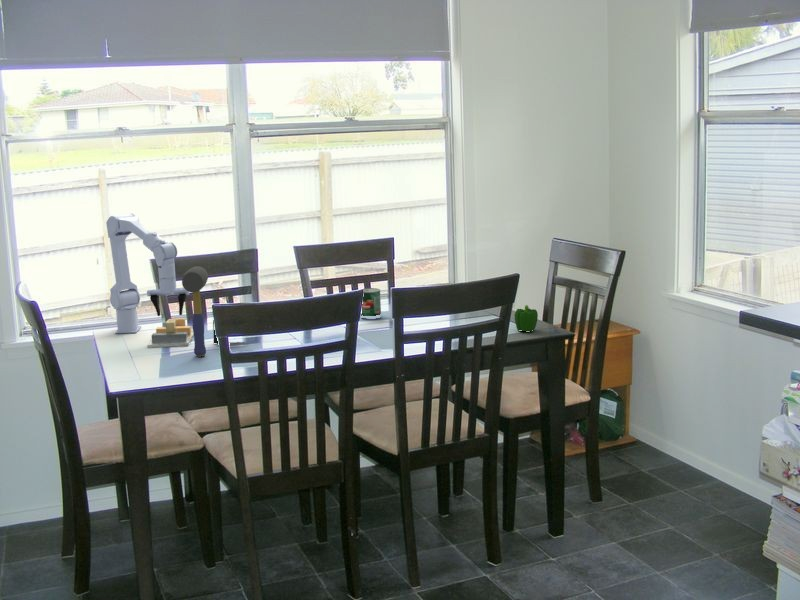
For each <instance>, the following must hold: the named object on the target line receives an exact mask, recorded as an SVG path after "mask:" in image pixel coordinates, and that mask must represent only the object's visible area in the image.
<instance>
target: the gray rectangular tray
mask: <svg viewBox="0 0 800 600" xmlns="http://www.w3.org/2000/svg"><path fill="white" fill-rule="evenodd" d="M193 339H194V333H193V327H191V334H187V332H175V333H156V332H154V333H152V334H151V339H150V341H148V343H147V348H148V349H149V348H150V349H151V348H168V347H169V348H170V346H174V347H188V345H190V344H189V343H191V342H190V341H192V340H193Z"/></svg>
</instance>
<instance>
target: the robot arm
mask: <svg viewBox="0 0 800 600" xmlns="http://www.w3.org/2000/svg"><path fill="white" fill-rule="evenodd" d="M105 225H106V230H107V237H108V238H109V243H110V249H111V250H110V251H111V257H112V264H113V271H114V278H115V284H114V285H113V286H111V288H110V290H109V291H110V296H109V303H110V304H111V307H112V308H113V309H114V310H115V313H116V325H117V326H116V327H117V330H115V331H114V334H134V333H135V334H136V333H137V332H138V331H140V329H141V328H142V326H141V325H139V317H138V310H137V307H138V305H139V304H140V301H141V295H140V292H139V290H138V285H137V284H135V283H133V282H132V281H131V274H130V266H129V259H128V254H127V246H126V239H127V238H128V237H129V236H130V235H131V234H133V235H135V236H136V237H138V238H140V239H141V240H142V244H143V245H144V246H145V247H146V248H147V249H149V250H150V251H151V252H152V254H153V258H154V259H155V264H156V266H157V270H158V284H159V288H158V289H157V288H156V289H147V290H146V295H147V297H149V298H150V299H149V300H150V301H151V303H152V305H153V306H154V309H155V311H156V315H157V317H160V316H161V308H160V306H161V305H160V296H177V295H178V296H177V300H178V306H179V307H178V311H179V312H178V313H179V316H182V315H183V309H184V305H185V301H186V298H187V296H188V295H190V293H191V292H189V291H187V290H185V289H184V287H183V288H181V287H180V288H179V287H177V280H176V279H177V277H176V267H175V266H176V265H175V259H176V258H177V256H178V248H177V246H176V245H175V244H174V242H168V241H166V240H164V239H163V238H162V237H161V236H159V235H158V233H157V232H149V230H147V229H146V228H145V227H144V226H143V225H142V224H141V223H140V220H139V217H138V216H137V215H135V214H134V213H129V214H127V213H126V214H122V215H121V214H120V215H110V216H109V217H108V219H107V220H106V223H105Z"/></svg>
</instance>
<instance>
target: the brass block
mask: <svg viewBox="0 0 800 600" xmlns="http://www.w3.org/2000/svg"><path fill="white" fill-rule="evenodd" d="M164 324H165V325H164V326H165V327H166V333H175V332H176V320H166V321H165V323H164Z"/></svg>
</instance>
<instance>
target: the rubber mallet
mask: <svg viewBox="0 0 800 600" xmlns="http://www.w3.org/2000/svg"><path fill="white" fill-rule="evenodd" d="M208 279H209V275H208V272H207V270H206V269H205V268H204V267H202V266H199V265H198V266H197V265H196V266H193V267H190V268H189V269H188V270H186V272H185V273H184V274H183V276H182V279H181V285H182V287H183V288H184V289H185V290H187V291H189V293H192V304H193V305H192V306H193V307H192V308H193V309H192V310H193V313H192V314H193V315H192V328H193V333H194V336H193V341H194V349H193V353H194V354H195V356H196V357H199V358H201V356H202V357H205V356H206V352H207V347H206V344H205V321H204V316H203V313H202V302H201V301H202V299H201V290H202V289H203V288H204V287H205V286H206V284H207V282H208ZM204 355H205V356H204Z"/></svg>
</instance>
